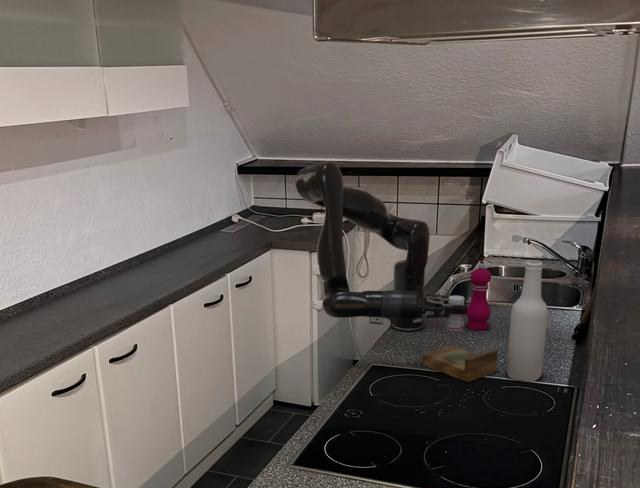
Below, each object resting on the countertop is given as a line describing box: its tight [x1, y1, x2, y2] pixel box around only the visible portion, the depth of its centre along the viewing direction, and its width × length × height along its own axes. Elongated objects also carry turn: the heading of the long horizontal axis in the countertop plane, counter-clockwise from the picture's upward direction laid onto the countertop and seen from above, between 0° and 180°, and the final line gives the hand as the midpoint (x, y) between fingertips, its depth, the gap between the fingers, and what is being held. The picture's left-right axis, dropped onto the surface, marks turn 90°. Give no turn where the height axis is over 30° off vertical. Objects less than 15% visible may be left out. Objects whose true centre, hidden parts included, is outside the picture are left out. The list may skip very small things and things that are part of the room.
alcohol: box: [505, 260, 549, 382], centre depth 192 cm, size 9×9×30 cm
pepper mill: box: [465, 263, 492, 331], centre depth 231 cm, size 7×7×20 cm
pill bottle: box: [444, 295, 466, 332], centre depth 197 cm, size 5×5×8 cm
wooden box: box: [422, 345, 499, 383], centre depth 202 cm, size 16×11×6 cm
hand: (466, 306), depth 196 cm, fingers closed on pill bottle, 4 cm apart
